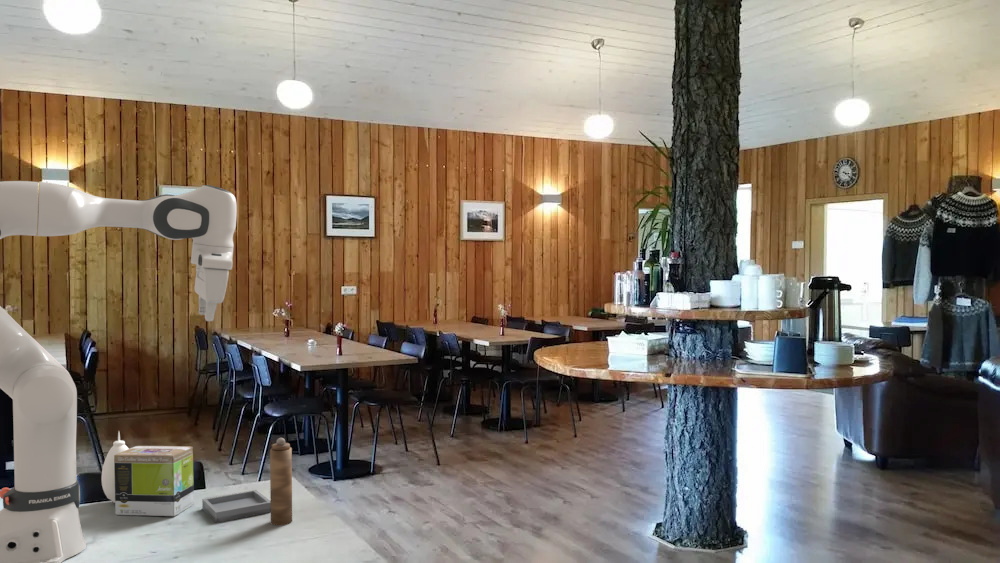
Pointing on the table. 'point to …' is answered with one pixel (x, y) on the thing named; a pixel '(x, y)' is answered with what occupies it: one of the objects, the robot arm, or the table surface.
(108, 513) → the table surface
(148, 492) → the tea box
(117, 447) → the sauce bottle
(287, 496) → the pepper mill
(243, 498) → the serving tray
